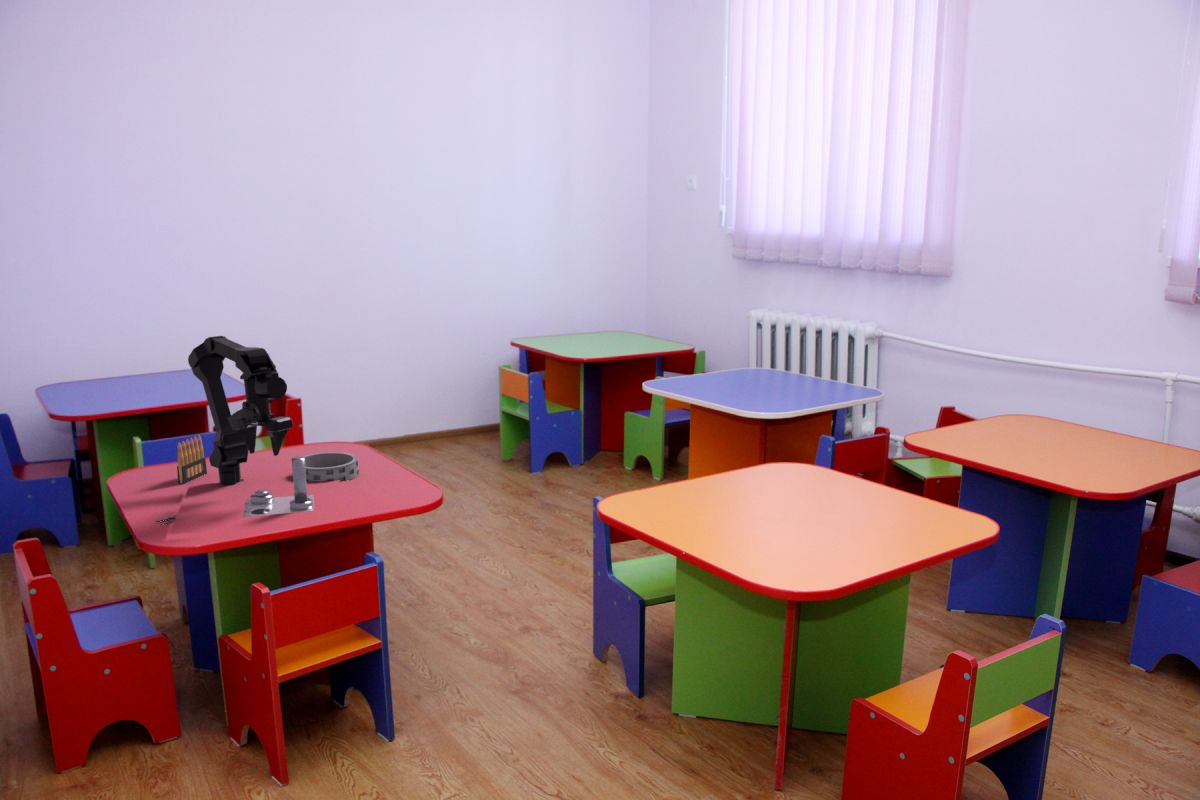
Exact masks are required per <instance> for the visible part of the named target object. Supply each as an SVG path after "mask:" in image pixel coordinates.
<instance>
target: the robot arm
mask: <svg viewBox="0 0 1200 800" xmlns="http://www.w3.org/2000/svg"><path fill="white" fill-rule="evenodd" d="M226 359H227V360H230V361H232V362H234V363H235V365H234V366H235V368H237V369H238V370H240V371H241V372H242V373H241V375H239V376H240V377H239V379H240V380H243V384H244V392H245V400H246V401H242V403H241V409H239V410H237V411H235V412H234V413H233V414H231V410H230V405H229V404H228V399H227V396H226V392H225V388H224V386H223V382H222V379H221V377H222V374H223V371H224V367H225V365H224V361H225V360H226ZM187 360H188V361H187V363H188V365H189V366H190V368H191V370H192V373H193V375H194V376H195V378H197V379H198V380H199V381H200V382H201V383H202V386H203V390H204V393H205V396H206V400H207V403H208V407H209V410H210V413H211V417H212V420H213V425H214V428H215V435H214V439H213V442H212V443H213V444H212V445H213V451H212V452H211V454H210V456H209V458H208V459H209V464H210V466H211V467H213V468H216V469H218V477H219V481H218V484H221V485H222V486H234V485H236V484H238V483H240V482H244V478H242V474H241V464H243V463H244V464H245V463H248V456H249V454H255V452H256V451H255V449H256V445H257V444H256V442H257V431H258V427H265V429H266V432H265V434H266V435H268V437H269V438H270V444H271V449H272V453H273V456H275V457H276V456H279V454H280V451H281V448H282V445H283V442H284V440H285V438H286V435H287V434H288V432H289V431H291V428H293V427H294V422H293V421H294V420H293V419H292V418H291V417H289V416H277V417H276V416H275V414H274V413H272V412H271V405H270V404H272V403H274V400H279V399H282V398H283V397H284V396H285V395H286V393H287V390H288V386H287V382H286V381H285V379H283V378H282V377H280V375H279V372H278V371H277V366H276V364H275V363H274V362H273V361H272V359H271V357H270V355H269V353H268V352H267V350H266V349H265V348H263V347H259V346H258V347H253V346H252V347H250V346H249V347H247V346H245V345H242V344H239V343H238V342H235V341H233V340H231V339H228V338H227V337H226V336H224V335H215V336H209V337H207V338H205V340H204V341H203V342H202V343H200V344H198V345H197V346H196V347H194V348H193V349H192V351H191V352H190V354H189V355H188V357H187Z"/></svg>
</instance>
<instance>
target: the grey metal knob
mask: <svg viewBox="0 0 1200 800" xmlns="http://www.w3.org/2000/svg"><path fill="white" fill-rule="evenodd" d="M273 498H274V494H273V493H272V492H269V491H268V490H267V489H260V490H256V491H255V492H254V493H253V494H251V495H250V500H251V503H252V504H266V503H270V502H272V501H273Z"/></svg>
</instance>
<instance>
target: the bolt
mask: <svg viewBox="0 0 1200 800" xmlns="http://www.w3.org/2000/svg"><path fill="white" fill-rule="evenodd" d="M291 467H292V469H291V470H292V481H293V482H292V483H293V485H292V486H293V494H294V495H293V496H294V500H292V501H290V509H292V510H307V509H310V508H312V507H313V500H312V499H310V498H307V495H308V487H307V486H308V484H307V480H306V468H305V457H303V456H294V457H291Z"/></svg>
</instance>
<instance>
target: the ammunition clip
mask: <svg viewBox="0 0 1200 800" xmlns="http://www.w3.org/2000/svg"><path fill="white" fill-rule="evenodd" d="M189 438H190V439H188V438H187V439H186V440H185V441H184V440H182V441H181V442H179V441H178V442H177V443H178V444H177V457H176V458H177V466H176V469H177V470H176V472H177V483H180V485H185V484H187V482H188V483H190V482H192V481H195V480H196V478H197V479H199V478H201V477H203V476H205V475H207V474H208V469H207V468H208V467H207V461H206V457H205V455H204V454H205V453H204V447H203V441H202V437H201V435H200V434H198V435H197V436H195V435H194V437H193V438H192V437H189ZM204 474H205V475H204ZM202 475H203V476H202ZM200 476H201V477H200ZM198 477H199V478H198ZM191 480H192V481H191ZM189 481H190V482H189Z"/></svg>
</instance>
